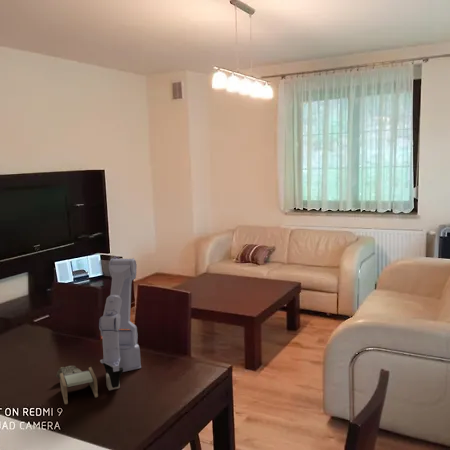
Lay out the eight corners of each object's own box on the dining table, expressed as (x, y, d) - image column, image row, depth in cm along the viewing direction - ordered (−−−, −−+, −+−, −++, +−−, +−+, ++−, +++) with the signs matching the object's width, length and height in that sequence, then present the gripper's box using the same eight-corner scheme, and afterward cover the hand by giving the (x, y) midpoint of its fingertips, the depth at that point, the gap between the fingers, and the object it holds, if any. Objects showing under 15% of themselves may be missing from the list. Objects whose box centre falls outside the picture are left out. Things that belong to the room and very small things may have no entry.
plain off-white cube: (117, 383, 172) (116, 370, 171) (119, 387, 169) (119, 374, 168) (106, 385, 170) (105, 373, 170) (108, 390, 167) (108, 377, 166)
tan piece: (92, 383, 172) (91, 367, 171) (98, 396, 162) (96, 379, 161) (60, 390, 167) (59, 373, 166) (64, 404, 157) (63, 386, 157)
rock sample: (73, 379, 167) (66, 358, 172) (58, 391, 169) (52, 370, 173) (93, 380, 176) (86, 360, 180) (79, 392, 177) (72, 372, 182)
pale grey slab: (88, 376, 171) (87, 367, 171) (93, 388, 162) (92, 378, 162) (64, 381, 167) (63, 372, 167) (67, 393, 158) (67, 384, 158)
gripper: (96, 342, 172) (98, 376, 174) (104, 356, 159) (106, 393, 161) (115, 339, 175) (116, 372, 177) (124, 352, 162) (126, 389, 164)
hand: (112, 382), depth 169 cm, fingers open, 7 cm apart
